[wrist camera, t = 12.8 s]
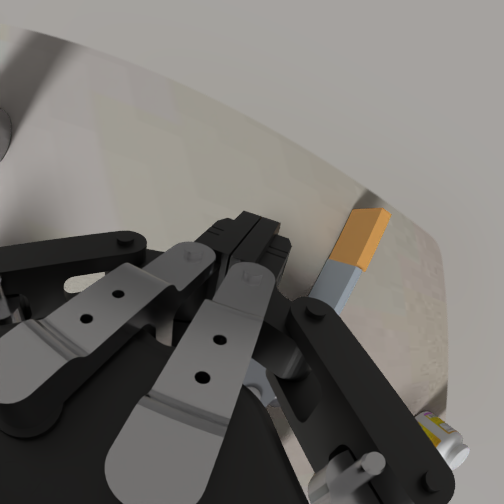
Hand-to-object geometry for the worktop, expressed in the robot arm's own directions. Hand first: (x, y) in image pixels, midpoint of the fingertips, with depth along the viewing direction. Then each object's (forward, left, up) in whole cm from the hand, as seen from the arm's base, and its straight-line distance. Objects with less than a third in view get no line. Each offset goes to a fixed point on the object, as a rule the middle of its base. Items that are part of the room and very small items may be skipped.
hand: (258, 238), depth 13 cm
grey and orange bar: (+13, +8, -24) cm, 28 cm away
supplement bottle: (+49, +11, -24) cm, 56 cm away
